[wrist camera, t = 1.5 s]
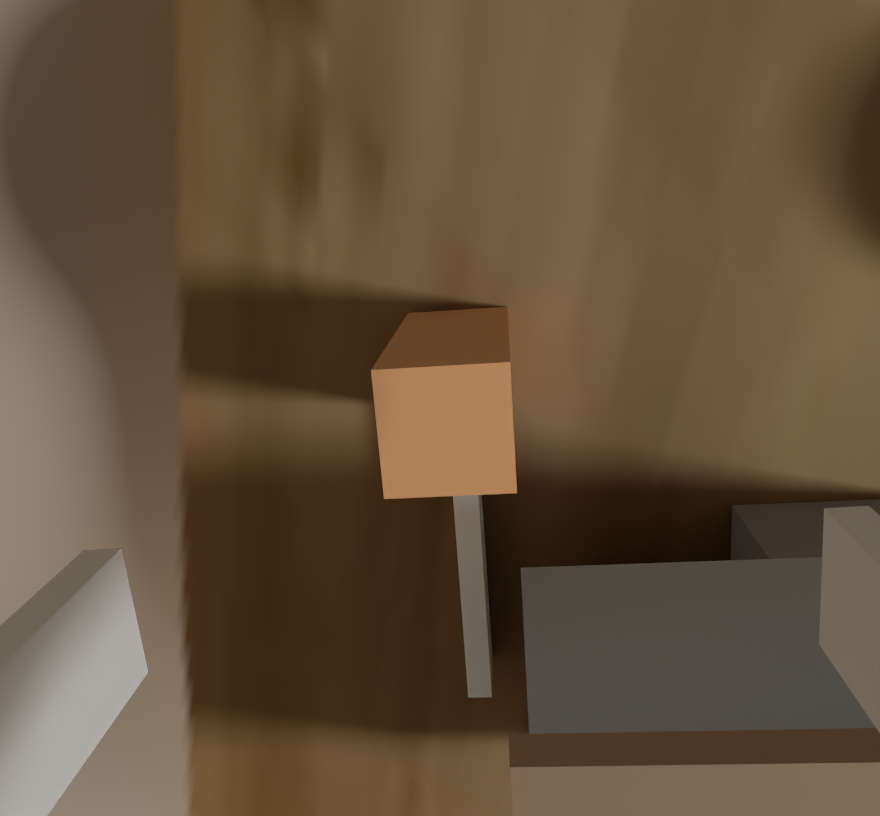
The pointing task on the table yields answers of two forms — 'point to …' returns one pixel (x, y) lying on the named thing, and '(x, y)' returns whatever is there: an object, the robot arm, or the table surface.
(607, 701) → the cabinet
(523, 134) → the table surface
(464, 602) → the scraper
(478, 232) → the table surface
